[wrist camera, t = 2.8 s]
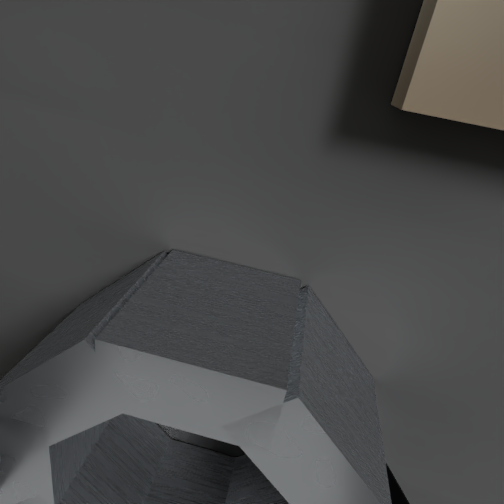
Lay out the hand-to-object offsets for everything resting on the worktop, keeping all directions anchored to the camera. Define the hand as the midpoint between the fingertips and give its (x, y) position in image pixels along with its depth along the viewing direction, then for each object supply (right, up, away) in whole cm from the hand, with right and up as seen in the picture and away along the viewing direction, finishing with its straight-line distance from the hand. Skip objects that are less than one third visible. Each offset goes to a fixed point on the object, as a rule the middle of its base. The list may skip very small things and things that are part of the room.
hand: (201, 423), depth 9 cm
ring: (0, 0, +1) cm, 1 cm away
